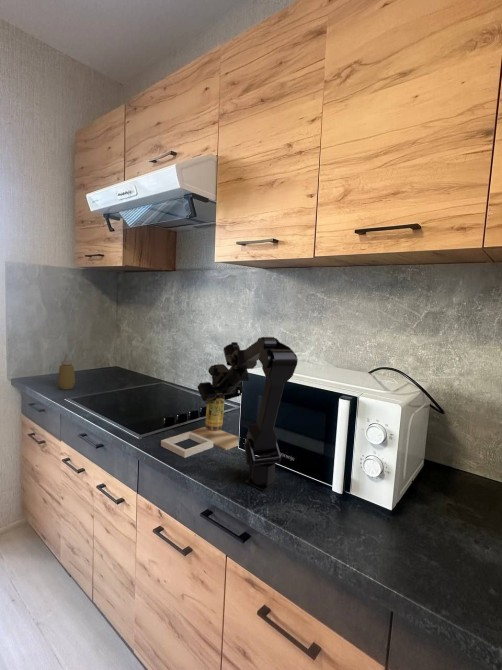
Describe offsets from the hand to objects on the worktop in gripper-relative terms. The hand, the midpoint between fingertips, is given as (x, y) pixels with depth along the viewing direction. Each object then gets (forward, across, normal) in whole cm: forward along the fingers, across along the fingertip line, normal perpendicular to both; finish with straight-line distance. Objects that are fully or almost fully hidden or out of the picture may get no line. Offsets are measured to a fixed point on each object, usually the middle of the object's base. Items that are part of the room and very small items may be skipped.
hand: (213, 401), depth 129 cm
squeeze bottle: (+77, +26, -58) cm, 100 cm away
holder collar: (+8, +12, +11) cm, 18 cm away
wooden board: (+9, -1, +10) cm, 14 cm away
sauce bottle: (+6, 0, +8) cm, 10 cm away
